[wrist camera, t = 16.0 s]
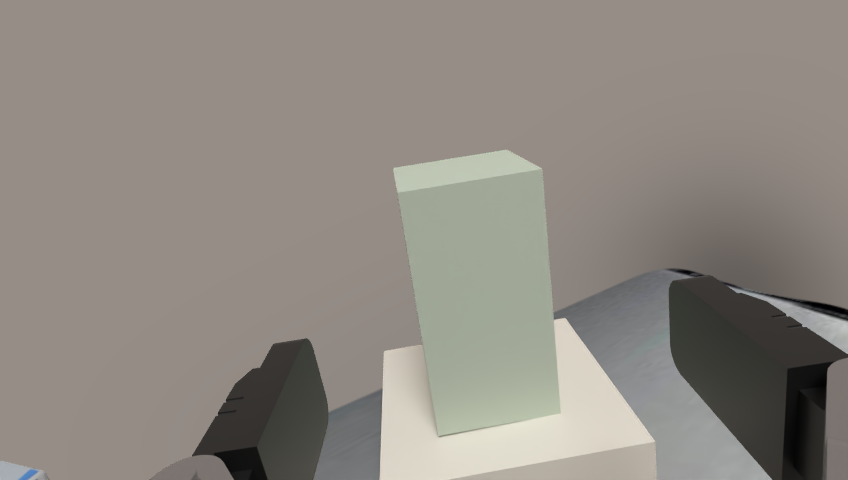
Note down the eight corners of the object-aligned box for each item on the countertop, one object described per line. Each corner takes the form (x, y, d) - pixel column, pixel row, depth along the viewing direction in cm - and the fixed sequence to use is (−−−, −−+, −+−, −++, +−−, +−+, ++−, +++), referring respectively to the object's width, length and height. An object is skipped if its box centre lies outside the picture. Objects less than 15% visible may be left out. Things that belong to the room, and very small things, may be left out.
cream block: (395, 555, 19) (379, 492, 18) (394, 397, 29) (384, 351, 28) (657, 507, 19) (655, 441, 18) (569, 365, 29) (565, 317, 28)
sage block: (438, 436, 20) (397, 192, 17) (426, 368, 25) (393, 168, 22) (560, 413, 21) (542, 169, 17) (526, 350, 25) (506, 149, 22)
